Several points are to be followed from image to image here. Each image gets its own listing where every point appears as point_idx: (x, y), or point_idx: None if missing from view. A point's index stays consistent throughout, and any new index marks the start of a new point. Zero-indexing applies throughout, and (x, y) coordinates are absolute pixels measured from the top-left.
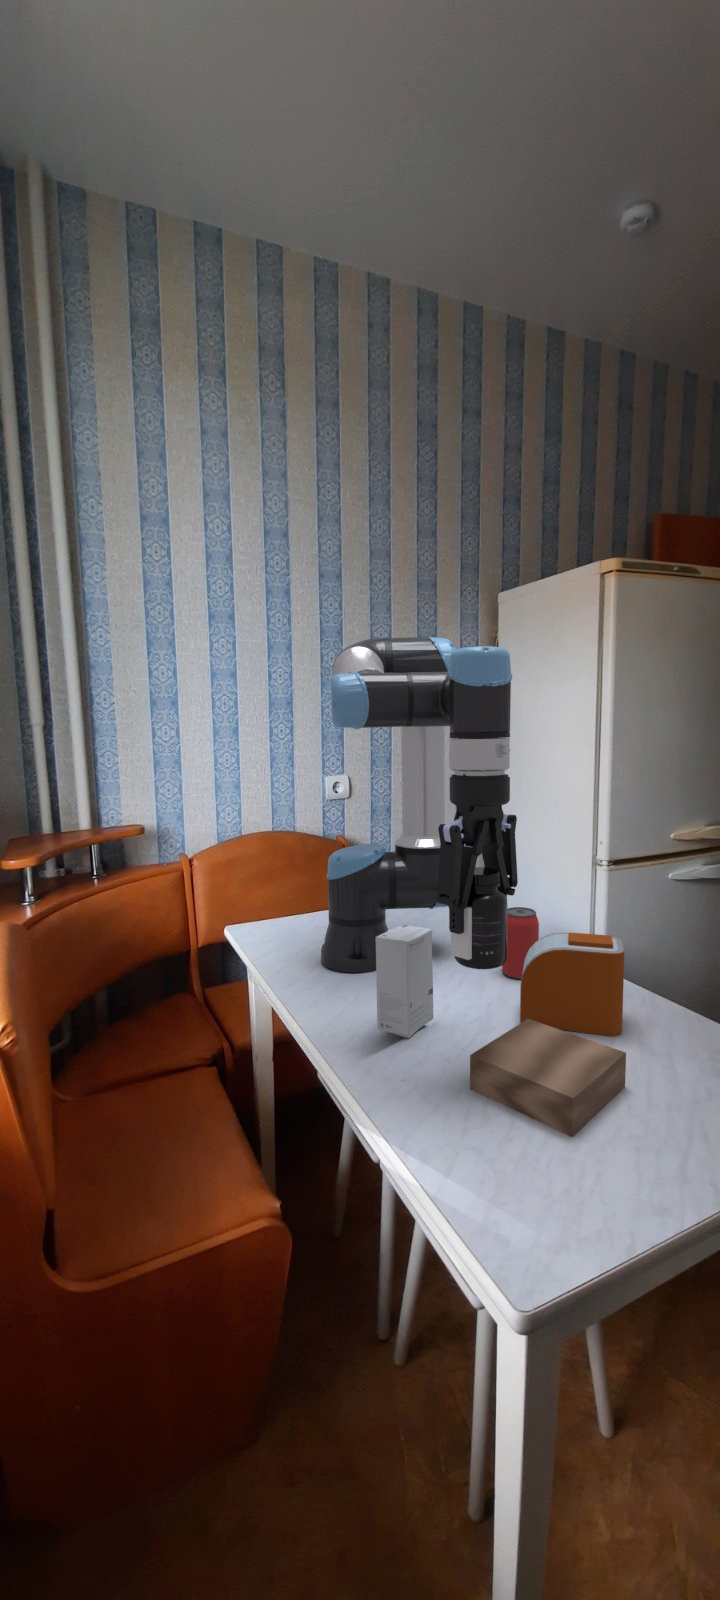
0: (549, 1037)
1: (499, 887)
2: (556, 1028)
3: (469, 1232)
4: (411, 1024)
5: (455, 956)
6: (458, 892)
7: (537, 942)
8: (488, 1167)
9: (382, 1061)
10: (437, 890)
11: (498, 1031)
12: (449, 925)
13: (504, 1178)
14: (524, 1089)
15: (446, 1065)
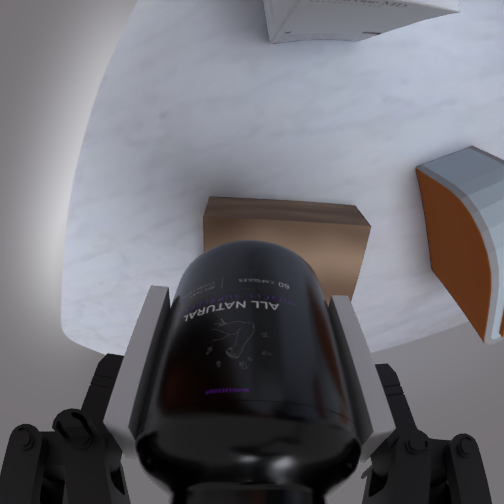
0: (328, 274)
1: (384, 473)
2: (425, 214)
3: (65, 297)
4: (283, 39)
5: (186, 271)
6: (65, 500)
7: None
8: (117, 279)
9: (182, 58)
10: (3, 463)
11: (383, 148)
12: (95, 371)
13: (118, 293)
14: None
15: (240, 136)
